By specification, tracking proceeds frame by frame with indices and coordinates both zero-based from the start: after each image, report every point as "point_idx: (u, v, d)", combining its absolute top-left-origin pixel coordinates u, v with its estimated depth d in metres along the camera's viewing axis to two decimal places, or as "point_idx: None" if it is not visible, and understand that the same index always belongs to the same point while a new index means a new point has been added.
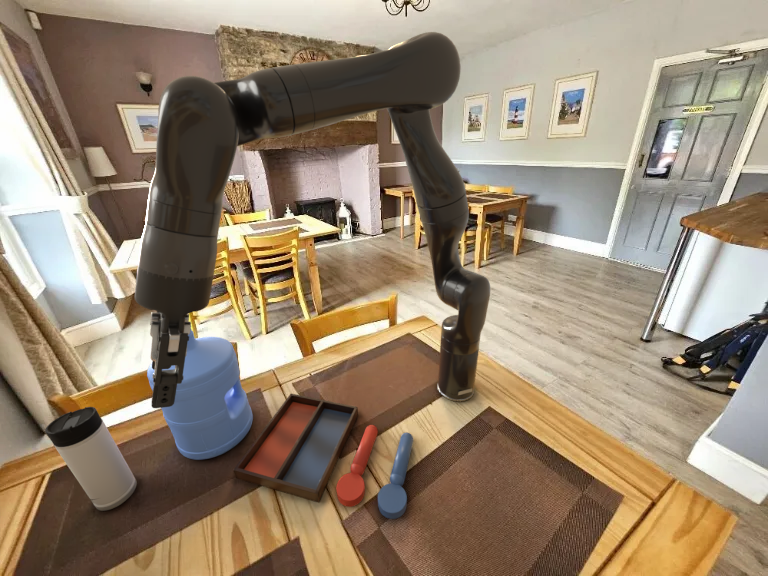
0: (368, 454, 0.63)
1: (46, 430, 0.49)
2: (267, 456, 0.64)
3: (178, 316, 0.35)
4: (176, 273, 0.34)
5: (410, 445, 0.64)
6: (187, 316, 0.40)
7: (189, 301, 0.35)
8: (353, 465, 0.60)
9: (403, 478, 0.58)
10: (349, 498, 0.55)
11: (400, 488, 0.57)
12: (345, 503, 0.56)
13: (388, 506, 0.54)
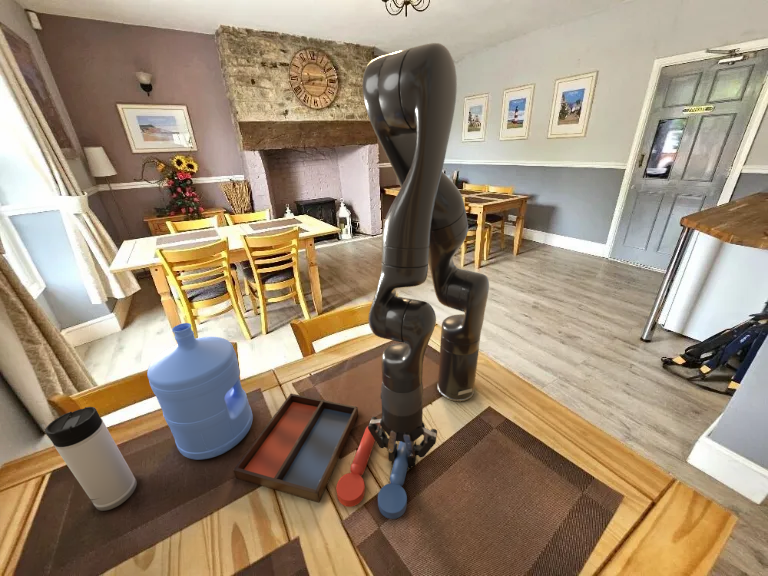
0: (368, 454, 0.63)
1: (46, 430, 0.49)
2: (267, 456, 0.64)
3: None
4: (422, 403, 0.55)
5: None
6: None
7: None
8: (353, 465, 0.60)
9: (403, 478, 0.58)
10: (349, 498, 0.55)
11: (400, 488, 0.57)
12: (345, 503, 0.56)
13: (388, 506, 0.54)
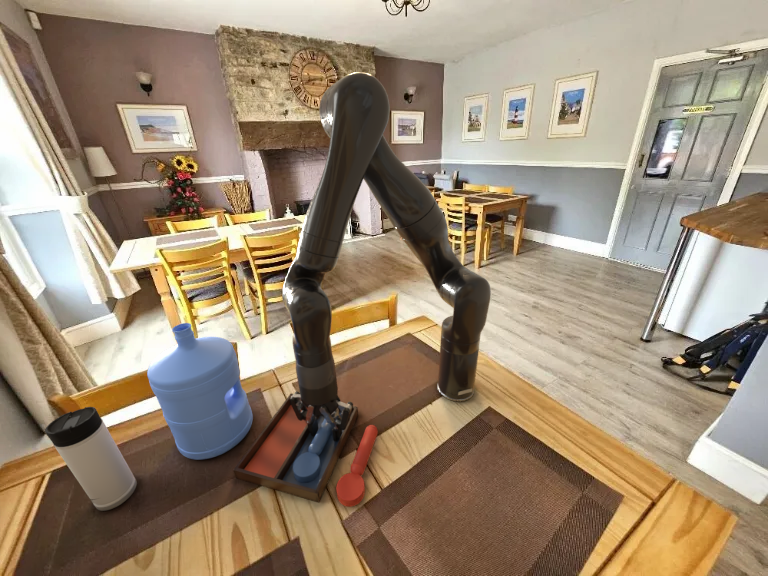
0: (368, 454, 0.63)
1: (46, 430, 0.49)
2: (267, 456, 0.64)
3: (337, 395, 0.63)
4: (333, 378, 0.60)
5: None
6: None
7: None
8: (353, 465, 0.60)
9: (320, 448, 0.64)
10: (349, 498, 0.55)
11: (316, 456, 0.62)
12: (345, 503, 0.56)
13: (300, 471, 0.59)
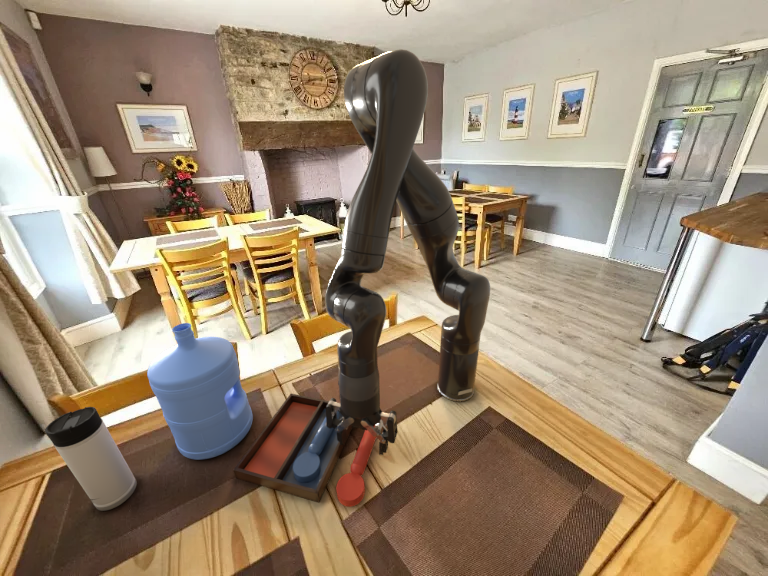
0: (368, 454, 0.63)
1: (46, 430, 0.49)
2: (267, 456, 0.64)
3: (379, 407, 0.59)
4: (377, 389, 0.56)
5: None
6: None
7: None
8: (353, 465, 0.60)
9: (320, 448, 0.64)
10: (349, 498, 0.55)
11: (316, 456, 0.62)
12: (345, 503, 0.56)
13: (300, 471, 0.59)
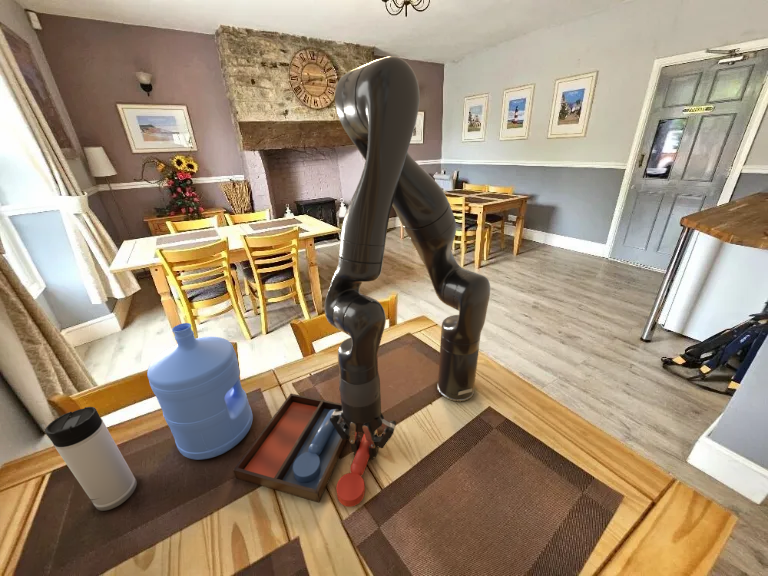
0: (368, 454, 0.63)
1: (46, 430, 0.49)
2: (267, 456, 0.64)
3: (380, 412, 0.59)
4: (378, 394, 0.57)
5: None
6: None
7: None
8: (353, 465, 0.60)
9: (320, 448, 0.64)
10: (349, 498, 0.55)
11: (316, 456, 0.62)
12: (345, 503, 0.56)
13: (300, 471, 0.59)
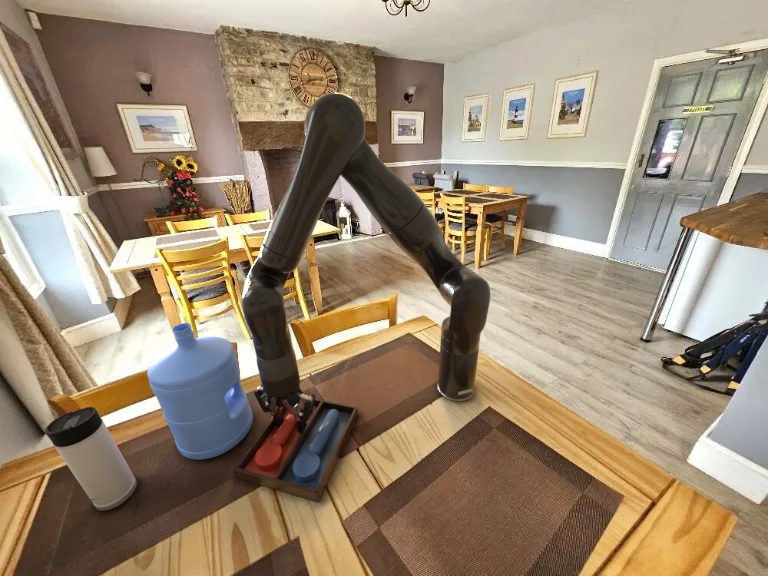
0: (291, 427, 0.69)
1: (46, 430, 0.49)
2: None
3: (298, 387, 0.65)
4: (293, 371, 0.62)
5: (334, 420, 0.70)
6: None
7: (298, 378, 0.65)
8: (274, 436, 0.66)
9: (320, 448, 0.64)
10: (264, 463, 0.61)
11: (316, 456, 0.62)
12: (261, 468, 0.61)
13: (300, 471, 0.59)
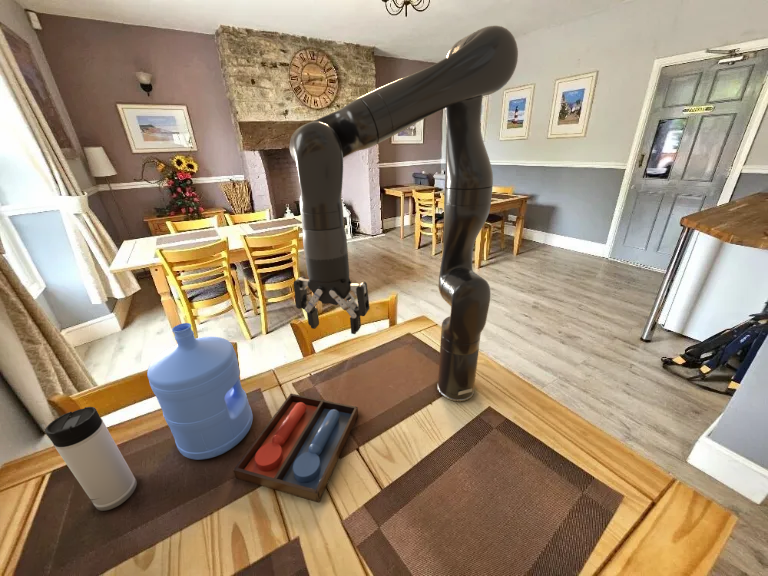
0: (291, 427, 0.69)
1: (46, 430, 0.49)
2: None
3: (348, 277, 0.56)
4: (344, 251, 0.53)
5: (334, 420, 0.70)
6: None
7: (348, 266, 0.56)
8: (274, 436, 0.66)
9: (320, 448, 0.64)
10: (264, 463, 0.61)
11: (316, 456, 0.62)
12: (261, 468, 0.61)
13: (300, 471, 0.59)
